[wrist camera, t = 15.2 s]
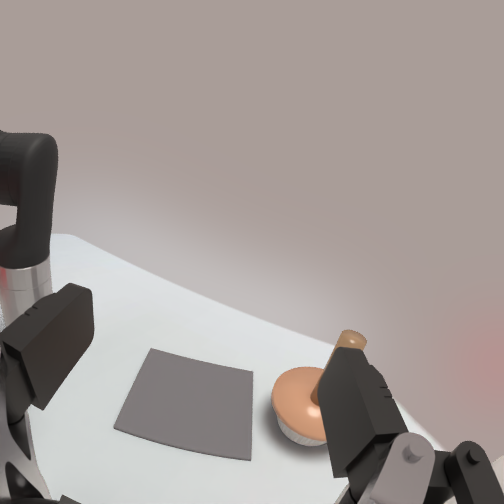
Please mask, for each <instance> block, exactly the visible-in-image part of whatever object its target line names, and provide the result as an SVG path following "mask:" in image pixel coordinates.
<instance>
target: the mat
mask: <svg viewBox="0 0 504 504" xmlns="http://www.w3.org/2000/svg"><path fill="white" fill-rule="evenodd" d="M252 401H253V371H247V370H242V369H236V368H231V367H226V366H221V365H217V364H212V363H207V362H203V361H199V360H194V359H190V358H186V357H182V356H178V355H174V354H171V353H167V352H163V351H160V350H156V349H152V348H151V349H150V351H149V353H148V355H147V357H146V359H145V361H144V363H143V365H142V367H141V369H140V371H139V373H138V375H137V377H136V379H135V381H134V383H133V385H132V388H131V390H130V392H129V394H128V396H127V398H126V400H125V402H124V405H123V407H122V409H121V411H120V413H119V415H118V418H117V420H116V422H115V424H114V429H117V430H120V431H122V432H125V433H128V434H131V435H134V436H137V437H140V438H143V439H147V440H150V441H153V442H157V443H161V444H164V445H168V446H172V447H176V448H180V449H184V450H189V451H193V452H198V453H203V454H208V455H214V456H220V457H226V458H233V459H240V460H248V461H251V449H252Z"/></svg>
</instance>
